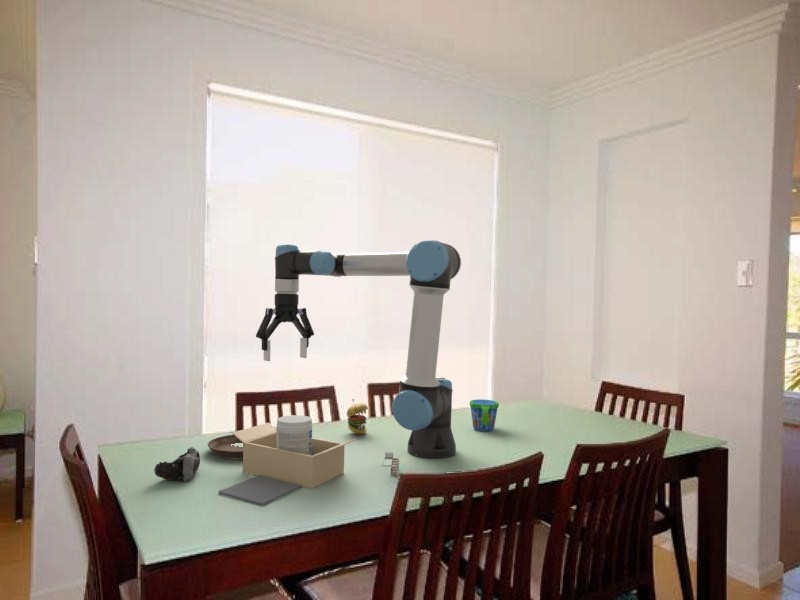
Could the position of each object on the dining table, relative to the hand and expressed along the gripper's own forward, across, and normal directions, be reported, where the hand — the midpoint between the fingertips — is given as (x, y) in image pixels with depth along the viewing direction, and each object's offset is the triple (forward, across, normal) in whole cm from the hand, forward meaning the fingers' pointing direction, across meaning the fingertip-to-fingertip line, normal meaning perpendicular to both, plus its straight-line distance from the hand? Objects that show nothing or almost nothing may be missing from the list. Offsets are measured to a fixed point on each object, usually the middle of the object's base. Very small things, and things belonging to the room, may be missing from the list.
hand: (285, 359), depth 181 cm
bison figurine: (+27, +38, +10) cm, 48 cm away
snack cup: (+28, -66, +29) cm, 77 cm away
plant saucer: (+27, +14, 0) cm, 31 cm away
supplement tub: (+27, +14, +26) cm, 40 cm away
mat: (+27, +27, +33) cm, 51 cm away
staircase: (+28, -6, +44) cm, 53 cm away
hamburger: (+27, -26, +5) cm, 38 cm away
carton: (+27, +14, +26) cm, 40 cm away
